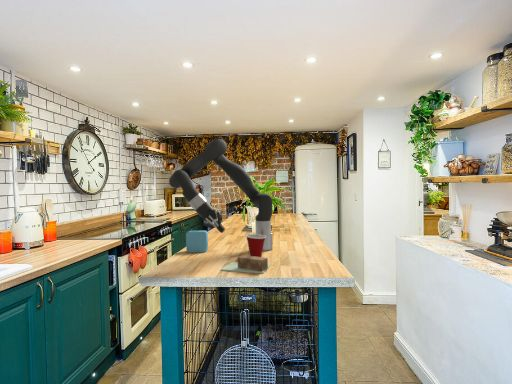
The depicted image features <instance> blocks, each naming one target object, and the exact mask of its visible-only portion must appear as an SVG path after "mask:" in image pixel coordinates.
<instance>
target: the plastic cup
mask: <svg viewBox="0 0 512 384" xmlns="http://www.w3.org/2000/svg"><path fill="white" fill-rule="evenodd" d="M245 237H246V241H247V245H248V252H249V256H256V257H263V245H264V240H265V238H266V236H264V235H259V234H256V233H249V234H246V235H245Z"/></svg>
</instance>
